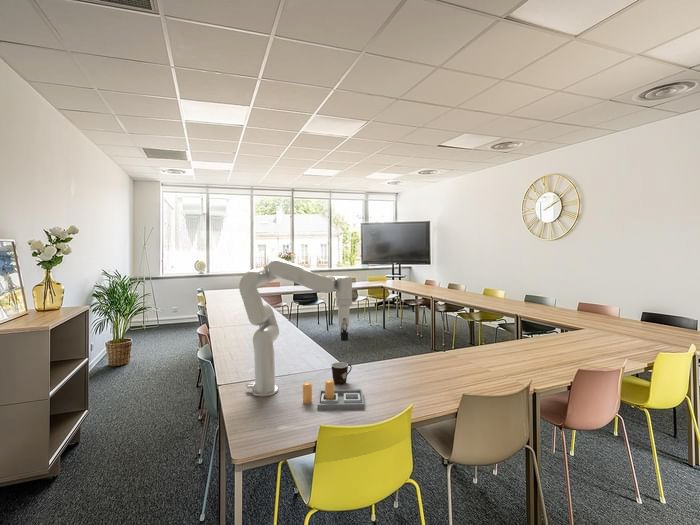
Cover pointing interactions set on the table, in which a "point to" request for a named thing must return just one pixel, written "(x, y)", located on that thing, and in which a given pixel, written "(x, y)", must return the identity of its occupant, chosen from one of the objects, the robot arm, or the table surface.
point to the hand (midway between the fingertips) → (344, 337)
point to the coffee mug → (340, 372)
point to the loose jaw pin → (307, 393)
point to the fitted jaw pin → (329, 390)
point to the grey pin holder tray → (341, 400)
